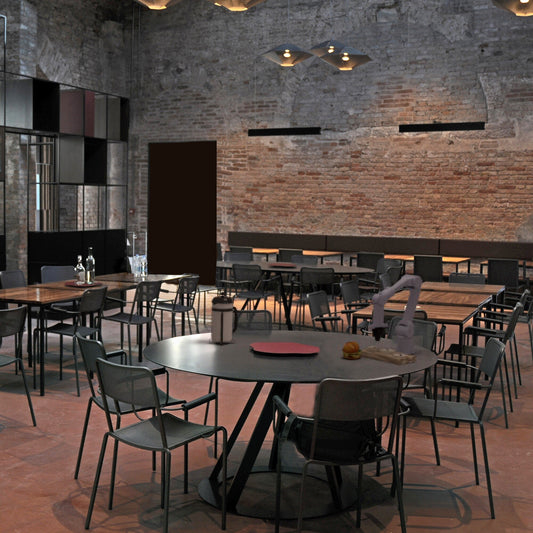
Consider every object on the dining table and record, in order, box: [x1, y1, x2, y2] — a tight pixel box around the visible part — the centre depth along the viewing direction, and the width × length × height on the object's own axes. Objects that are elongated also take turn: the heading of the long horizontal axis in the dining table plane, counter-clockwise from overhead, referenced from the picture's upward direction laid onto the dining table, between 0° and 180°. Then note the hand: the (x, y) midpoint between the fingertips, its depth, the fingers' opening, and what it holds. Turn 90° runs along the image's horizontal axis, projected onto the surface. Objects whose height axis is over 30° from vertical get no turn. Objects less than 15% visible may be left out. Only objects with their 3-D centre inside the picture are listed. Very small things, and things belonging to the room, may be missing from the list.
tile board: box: [361, 348, 417, 366], centre depth 398 cm, size 14×28×3 cm, turn 41°
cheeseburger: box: [341, 341, 363, 360], centre depth 397 cm, size 10×11×10 cm
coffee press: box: [208, 291, 239, 346], centre depth 430 cm, size 17×16×30 cm
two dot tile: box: [379, 348, 396, 355], centre depth 398 cm, size 6×6×3 cm
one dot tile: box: [366, 345, 383, 352], centre depth 405 cm, size 6×6×3 cm
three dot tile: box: [392, 354, 410, 358], centre depth 391 cm, size 6×6×3 cm
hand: (377, 341), depth 403 cm, fingers closed
